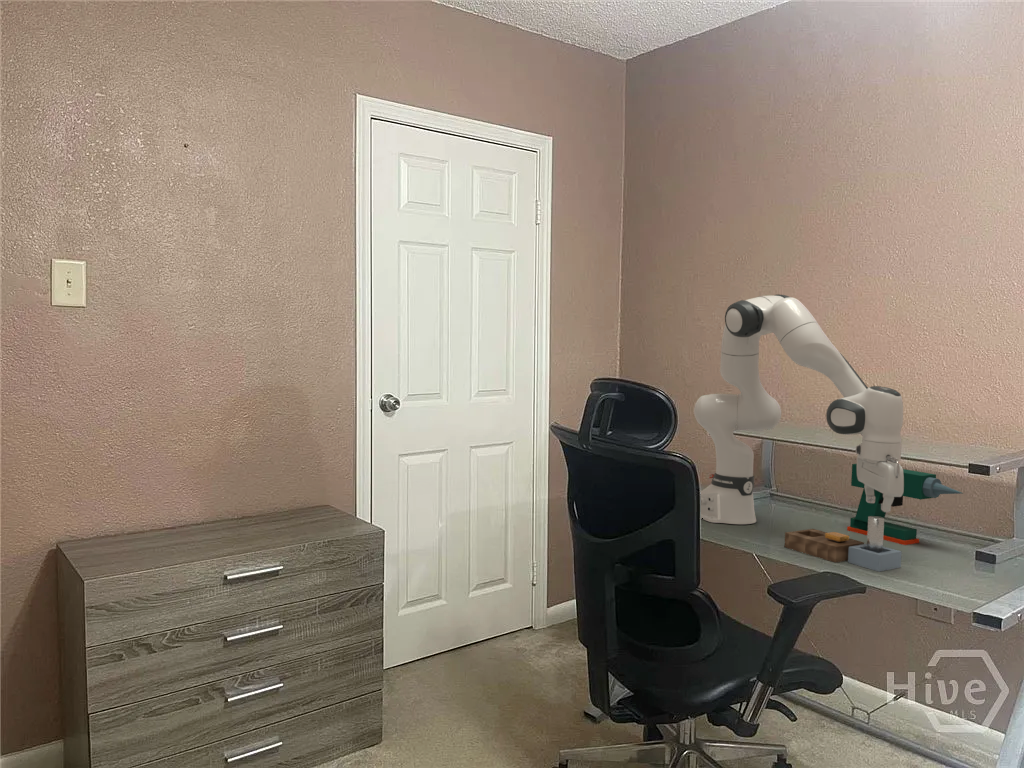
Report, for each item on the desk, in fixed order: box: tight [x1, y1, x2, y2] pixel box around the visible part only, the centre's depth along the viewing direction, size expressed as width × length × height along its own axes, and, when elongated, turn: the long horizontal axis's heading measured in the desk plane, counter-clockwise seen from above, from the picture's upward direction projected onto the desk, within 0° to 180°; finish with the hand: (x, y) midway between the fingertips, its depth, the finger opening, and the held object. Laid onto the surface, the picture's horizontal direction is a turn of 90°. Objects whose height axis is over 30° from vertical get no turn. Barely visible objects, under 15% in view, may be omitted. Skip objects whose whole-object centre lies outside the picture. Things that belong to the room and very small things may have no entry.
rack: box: [847, 543, 903, 573], centre depth 193 cm, size 9×9×4 cm
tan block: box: [825, 531, 850, 543], centre depth 200 cm, size 4×4×5 cm
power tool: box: [846, 463, 964, 546], centre depth 217 cm, size 32×7×20 cm, turn 30°
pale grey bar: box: [866, 516, 885, 553], centre depth 193 cm, size 4×4×12 cm
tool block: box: [784, 528, 865, 564], centre depth 204 cm, size 16×11×4 cm
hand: (877, 507), depth 193 cm, fingers open, 8 cm apart
